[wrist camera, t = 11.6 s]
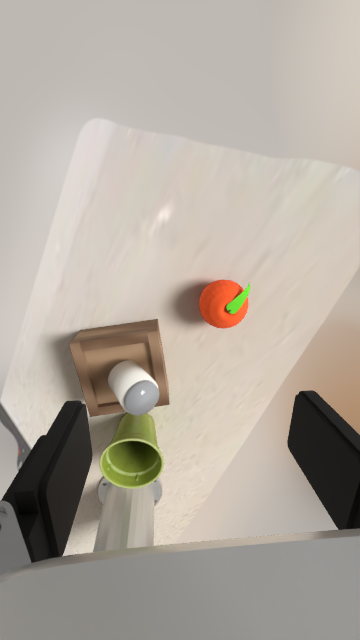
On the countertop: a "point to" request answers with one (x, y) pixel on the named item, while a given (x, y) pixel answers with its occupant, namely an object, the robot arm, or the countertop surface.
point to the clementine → (224, 303)
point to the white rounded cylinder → (133, 387)
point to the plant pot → (133, 453)
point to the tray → (117, 361)
